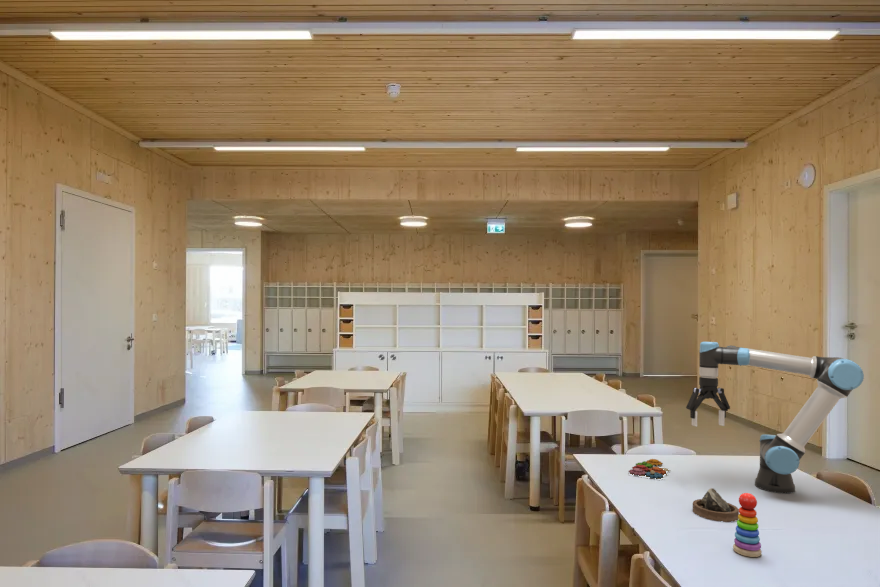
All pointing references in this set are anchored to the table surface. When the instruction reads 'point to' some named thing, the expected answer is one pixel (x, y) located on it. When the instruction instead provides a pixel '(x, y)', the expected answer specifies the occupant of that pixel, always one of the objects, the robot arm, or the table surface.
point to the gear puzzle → (649, 469)
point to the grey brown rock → (714, 502)
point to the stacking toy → (747, 528)
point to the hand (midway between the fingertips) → (708, 425)
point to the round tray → (715, 515)
